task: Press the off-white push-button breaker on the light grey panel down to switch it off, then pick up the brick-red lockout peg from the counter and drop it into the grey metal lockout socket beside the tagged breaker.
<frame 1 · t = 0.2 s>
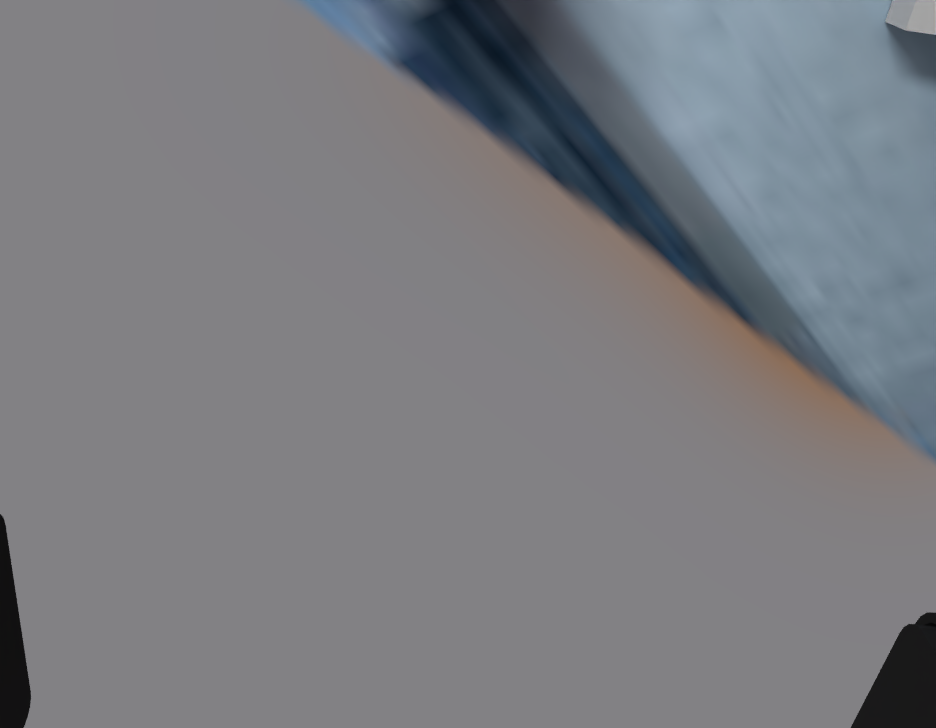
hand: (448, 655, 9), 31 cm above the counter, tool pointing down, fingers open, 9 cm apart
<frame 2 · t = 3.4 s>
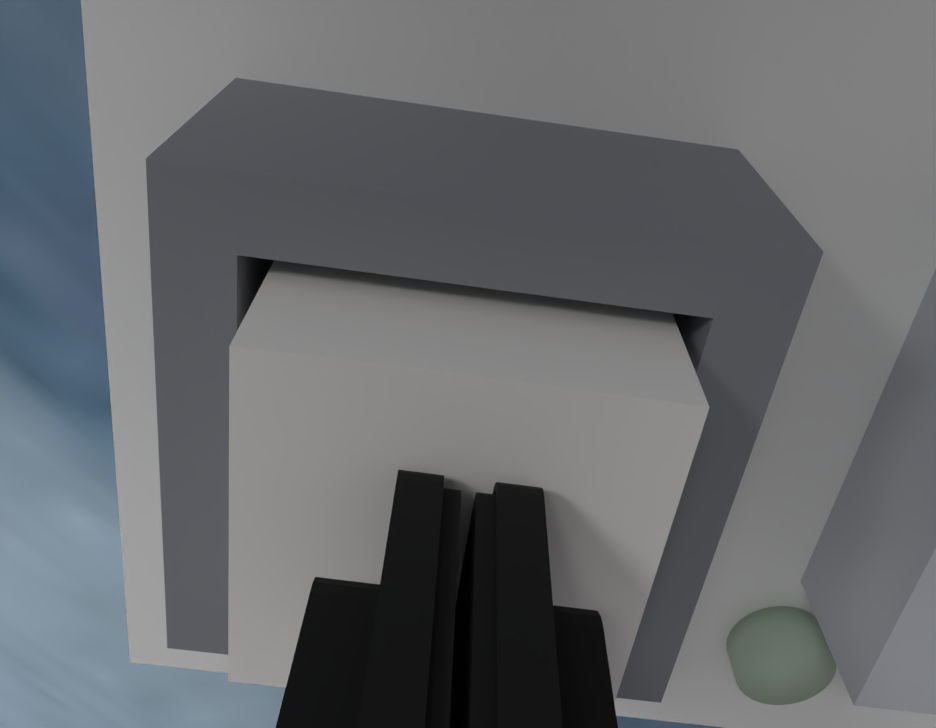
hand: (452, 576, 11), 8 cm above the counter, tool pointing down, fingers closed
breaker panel: (768, 327, 17), on the counter
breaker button: (449, 458, 12), point 6 cm above the counter, slide at 1.3 cm, touching gripper
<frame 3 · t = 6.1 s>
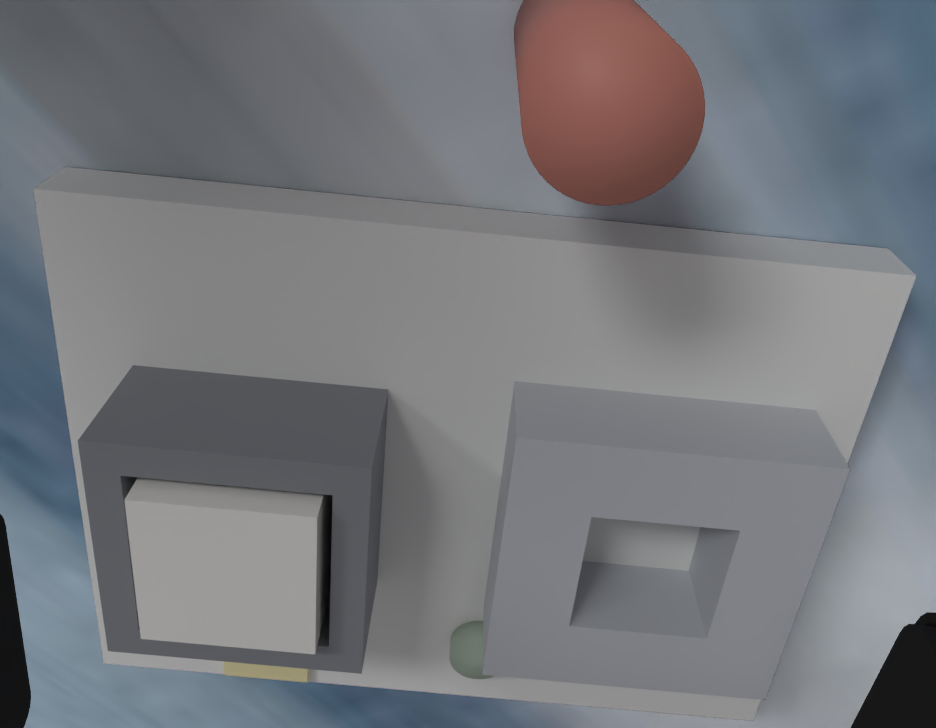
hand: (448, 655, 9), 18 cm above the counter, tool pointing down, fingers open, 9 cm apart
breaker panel: (453, 461, 30), on the counter
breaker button: (243, 533, 26), point 5 cm above the counter, slide at 2.2 cm
lockout peg: (574, 34, 24), on the counter
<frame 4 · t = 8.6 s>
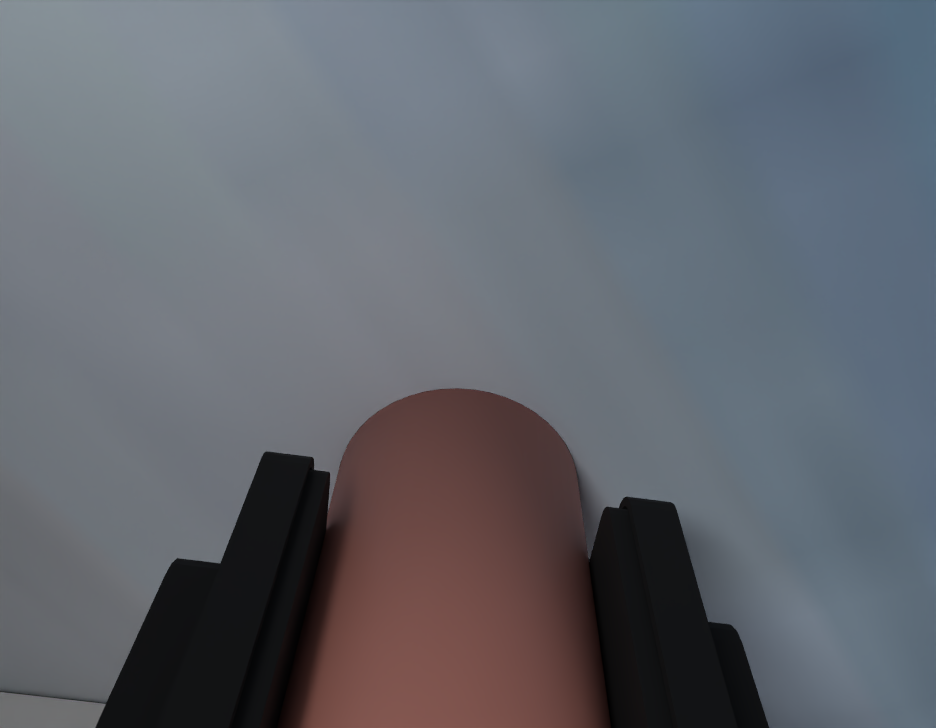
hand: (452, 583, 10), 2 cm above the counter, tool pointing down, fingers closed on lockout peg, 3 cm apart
lockout peg: (457, 491, 12), on the counter, touching gripper
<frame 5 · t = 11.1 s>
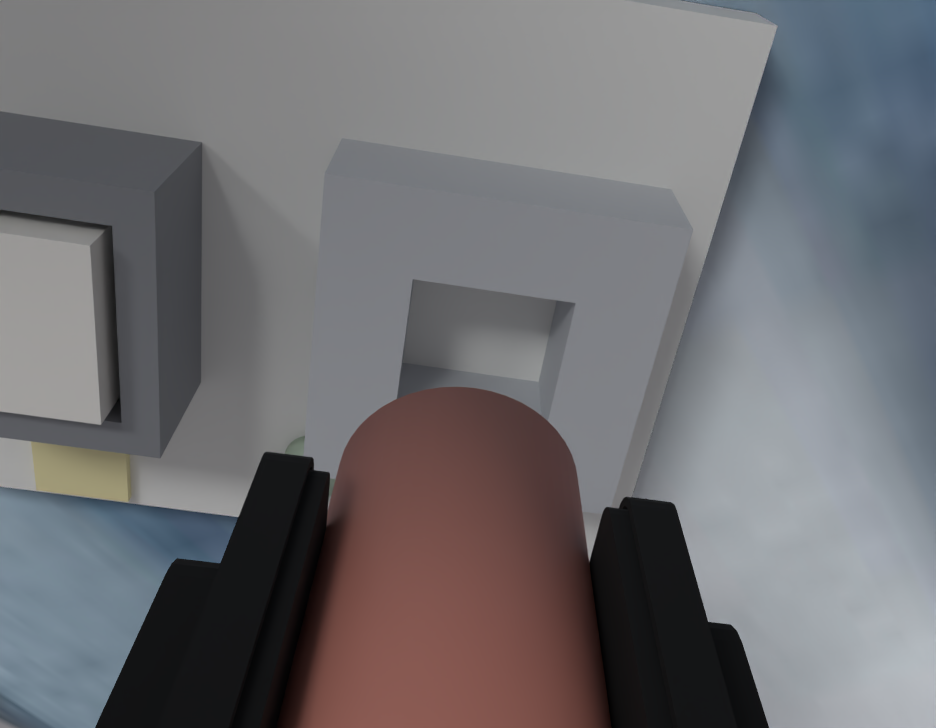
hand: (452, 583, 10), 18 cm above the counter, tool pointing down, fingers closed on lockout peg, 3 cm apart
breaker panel: (290, 255, 28), on the counter
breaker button: (27, 290, 23), point 5 cm above the counter, slide at 2.2 cm
lockout peg: (457, 489, 12), point 16 cm above the counter, touching gripper
when the fingers open (6 cm above the counter, at t = 13.8 s): lockout peg drops 2 cm, resting on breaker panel.
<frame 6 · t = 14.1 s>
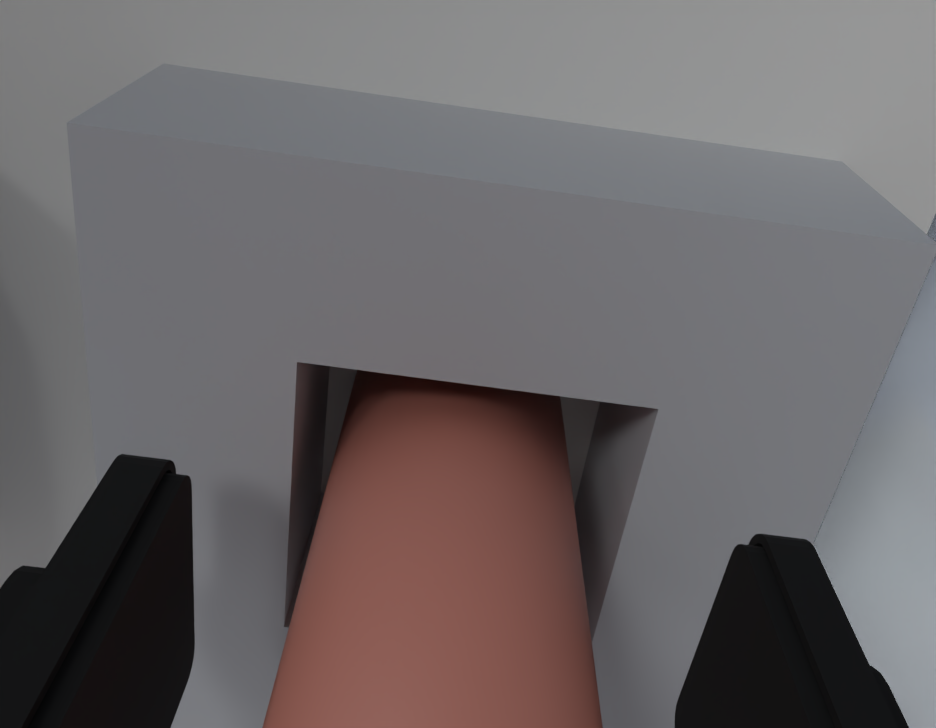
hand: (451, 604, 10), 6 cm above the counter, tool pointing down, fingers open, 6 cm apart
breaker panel: (121, 296, 15), on the counter
lockout peg: (456, 400, 14), point 2 cm above the counter, touching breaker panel
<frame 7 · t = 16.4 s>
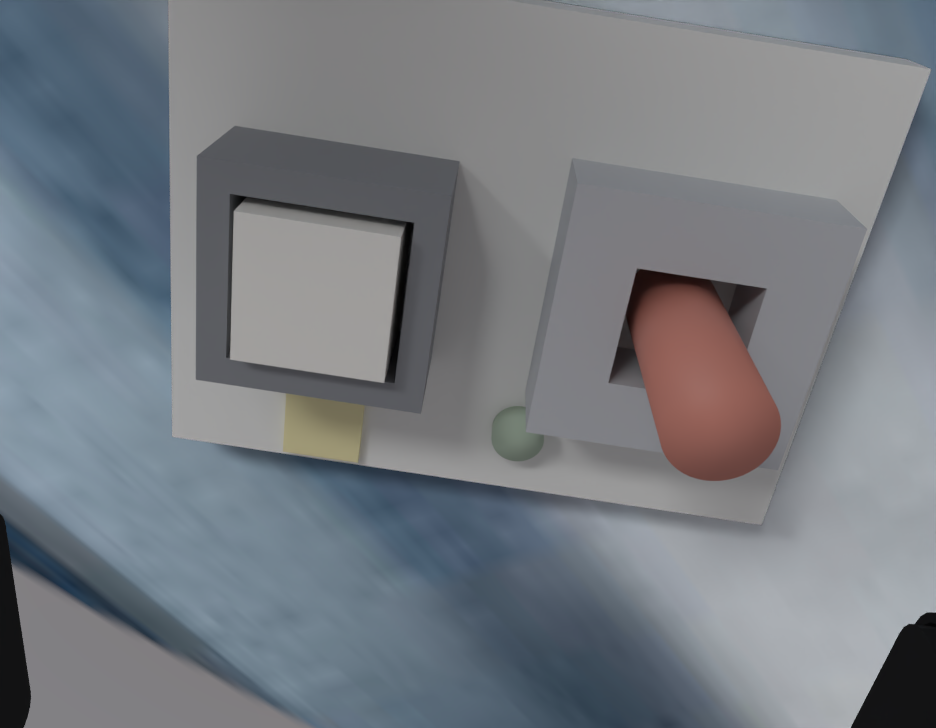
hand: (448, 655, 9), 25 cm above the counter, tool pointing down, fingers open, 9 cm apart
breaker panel: (506, 255, 34), on the counter
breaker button: (324, 276, 29), point 5 cm above the counter, slide at 2.2 cm
lockout peg: (668, 300, 32), point 2 cm above the counter, touching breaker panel
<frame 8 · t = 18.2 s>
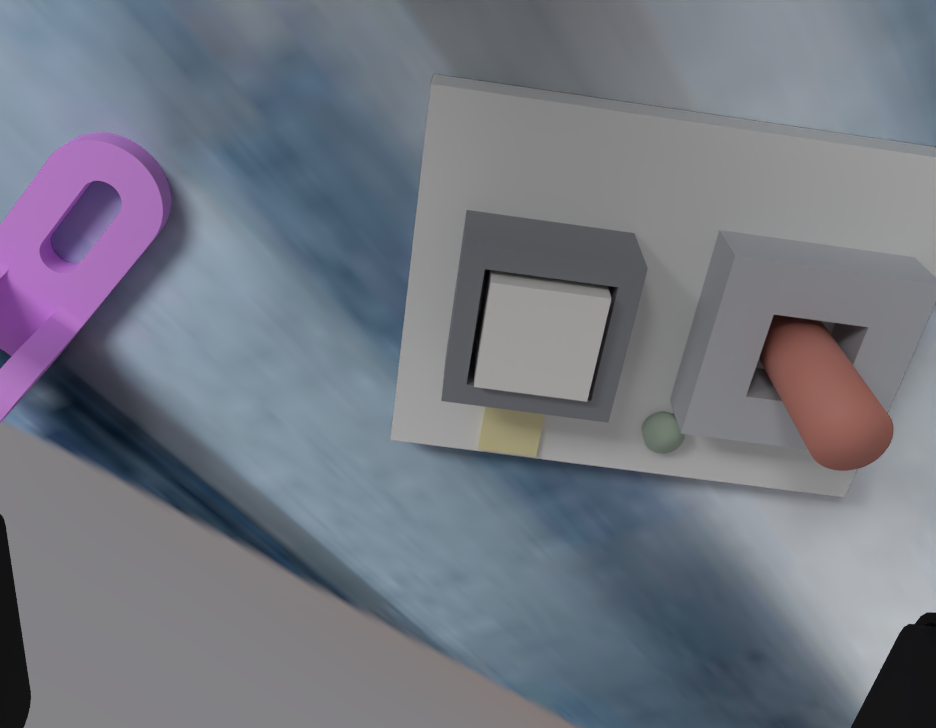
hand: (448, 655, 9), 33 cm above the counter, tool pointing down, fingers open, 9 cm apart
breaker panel: (655, 296, 44), on the counter
bracket: (73, 242, 44), on the counter
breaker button: (538, 323, 40), point 5 cm above the counter, slide at 2.2 cm
lockout peg: (784, 331, 42), point 2 cm above the counter, touching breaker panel
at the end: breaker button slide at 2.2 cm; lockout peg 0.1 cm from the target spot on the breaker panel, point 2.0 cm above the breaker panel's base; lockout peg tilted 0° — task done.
